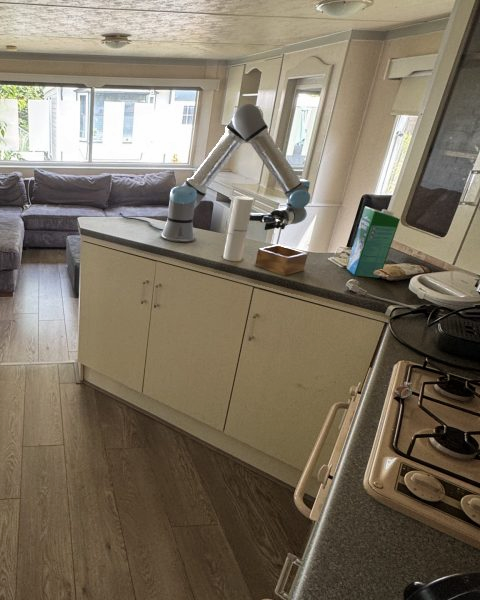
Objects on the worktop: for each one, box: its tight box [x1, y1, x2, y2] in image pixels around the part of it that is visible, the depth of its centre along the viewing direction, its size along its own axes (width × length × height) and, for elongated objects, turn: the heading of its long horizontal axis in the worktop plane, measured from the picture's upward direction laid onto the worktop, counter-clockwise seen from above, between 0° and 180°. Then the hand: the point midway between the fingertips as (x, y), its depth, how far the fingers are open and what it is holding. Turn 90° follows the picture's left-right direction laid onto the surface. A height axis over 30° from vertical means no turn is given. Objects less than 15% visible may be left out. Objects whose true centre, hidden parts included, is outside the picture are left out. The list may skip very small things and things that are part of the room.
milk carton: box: [345, 206, 401, 279], centre depth 163 cm, size 9×9×25 cm
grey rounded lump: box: [394, 381, 413, 399], centre depth 93 cm, size 3×2×4 cm
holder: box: [254, 244, 309, 277], centre depth 168 cm, size 13×13×7 cm
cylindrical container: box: [222, 195, 254, 262], centre depth 174 cm, size 7×7×25 cm
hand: (251, 222), depth 177 cm, fingers open, 13 cm apart
